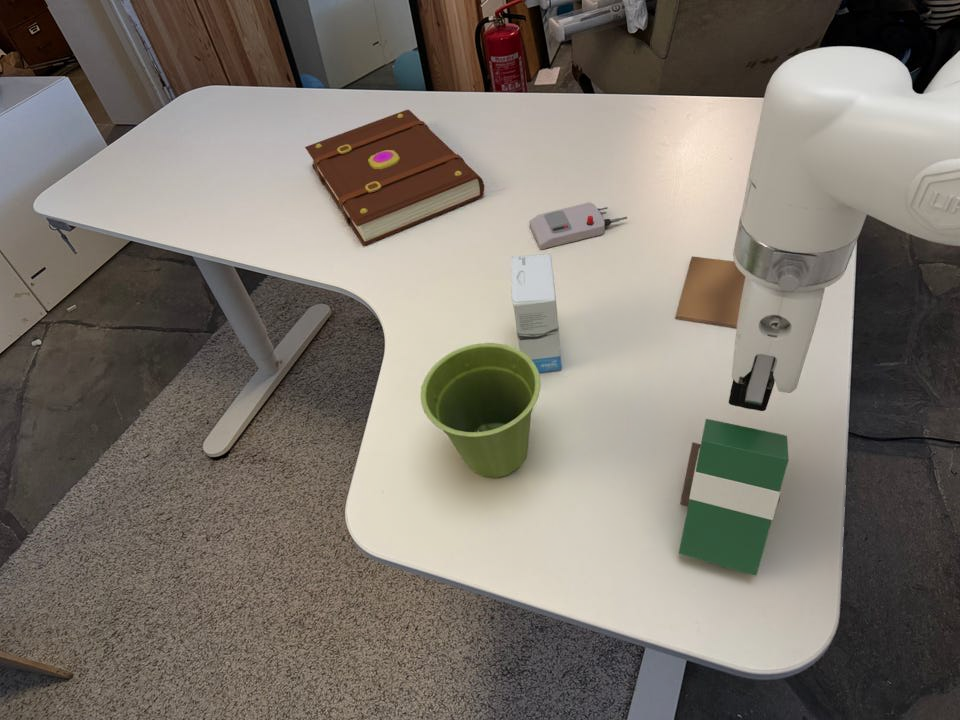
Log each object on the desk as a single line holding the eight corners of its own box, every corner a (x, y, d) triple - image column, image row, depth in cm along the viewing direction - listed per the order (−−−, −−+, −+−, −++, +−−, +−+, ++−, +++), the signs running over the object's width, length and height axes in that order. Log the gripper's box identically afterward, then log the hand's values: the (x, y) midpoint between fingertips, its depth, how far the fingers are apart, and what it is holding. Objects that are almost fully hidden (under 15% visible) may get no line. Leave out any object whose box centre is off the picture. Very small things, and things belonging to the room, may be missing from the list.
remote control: (518, 228, 94) (516, 212, 92) (614, 204, 94) (615, 188, 92) (528, 253, 89) (526, 236, 87) (630, 228, 90) (631, 211, 88)
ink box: (562, 371, 73) (557, 299, 65) (521, 375, 74) (511, 304, 65) (557, 322, 79) (551, 250, 70) (519, 326, 79) (509, 255, 71)
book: (362, 247, 97) (352, 221, 93) (311, 167, 117) (302, 143, 114) (487, 196, 101) (482, 169, 98) (417, 128, 122) (411, 103, 118)
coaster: (786, 271, 79) (787, 267, 78) (779, 334, 72) (780, 331, 71) (691, 259, 83) (691, 256, 83) (675, 318, 76) (675, 315, 76)
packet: (691, 482, 61) (707, 406, 52) (763, 500, 58) (792, 424, 49) (676, 561, 56) (690, 492, 47) (753, 584, 53) (784, 516, 44)
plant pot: (535, 398, 71) (525, 331, 63) (560, 484, 63) (553, 419, 55) (436, 420, 71) (415, 356, 63) (449, 509, 63) (426, 448, 55)
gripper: (850, 322, 37) (784, 479, 50) (854, 188, 46) (797, 352, 59) (721, 303, 40) (691, 457, 53) (748, 179, 48) (716, 338, 62)
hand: (747, 401), depth 56 cm, fingers closed
